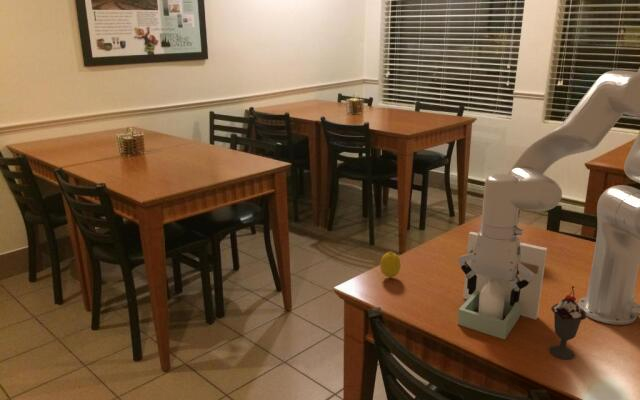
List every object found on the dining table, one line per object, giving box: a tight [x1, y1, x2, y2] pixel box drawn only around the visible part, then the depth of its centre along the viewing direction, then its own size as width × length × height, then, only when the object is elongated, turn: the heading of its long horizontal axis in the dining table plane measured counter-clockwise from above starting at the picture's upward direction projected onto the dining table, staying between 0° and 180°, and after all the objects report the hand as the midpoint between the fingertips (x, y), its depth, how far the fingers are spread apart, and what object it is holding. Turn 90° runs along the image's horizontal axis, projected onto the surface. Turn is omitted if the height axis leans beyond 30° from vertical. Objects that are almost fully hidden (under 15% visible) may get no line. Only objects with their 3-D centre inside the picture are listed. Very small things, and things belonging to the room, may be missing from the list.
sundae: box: [549, 285, 587, 361], centre depth 109 cm, size 7×7×15 cm
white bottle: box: [478, 277, 505, 320], centre depth 122 cm, size 6×12×6 cm
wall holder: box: [457, 231, 548, 340], centre depth 122 cm, size 18×14×18 cm
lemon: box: [379, 250, 402, 279], centre depth 144 cm, size 6×6×8 cm
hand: (492, 297), depth 122 cm, fingers open, 9 cm apart
